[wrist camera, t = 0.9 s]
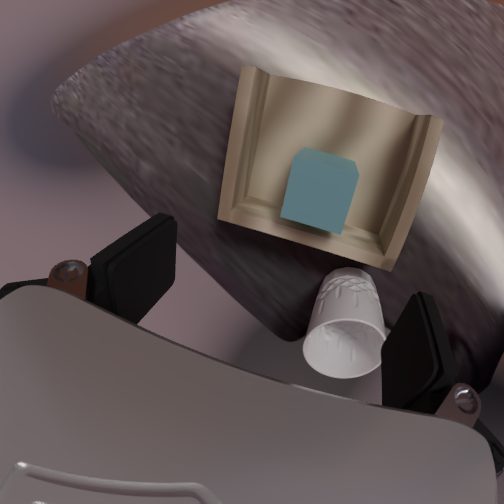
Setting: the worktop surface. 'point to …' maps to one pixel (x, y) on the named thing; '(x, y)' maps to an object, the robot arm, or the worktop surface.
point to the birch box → (333, 142)
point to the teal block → (320, 190)
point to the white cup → (345, 326)
